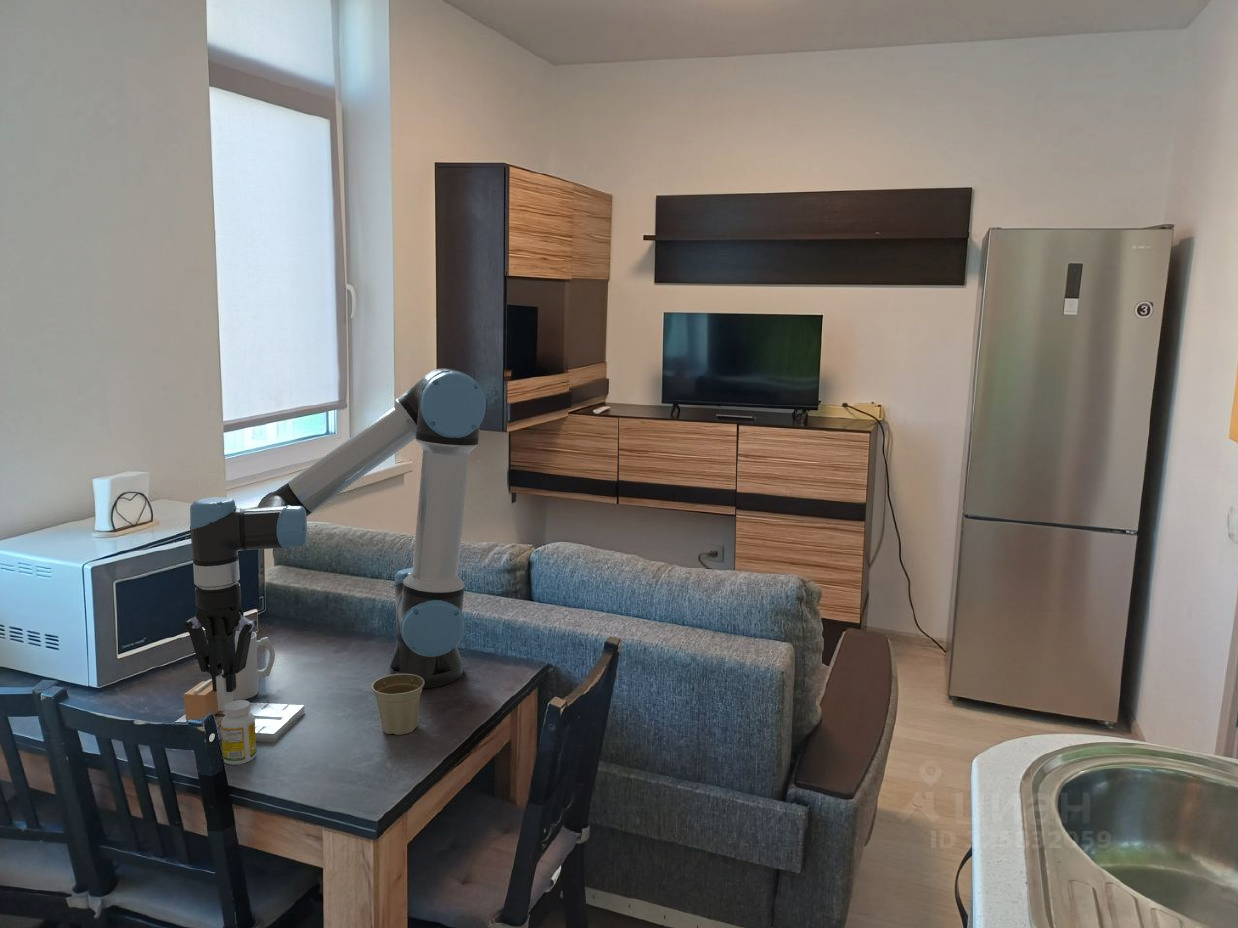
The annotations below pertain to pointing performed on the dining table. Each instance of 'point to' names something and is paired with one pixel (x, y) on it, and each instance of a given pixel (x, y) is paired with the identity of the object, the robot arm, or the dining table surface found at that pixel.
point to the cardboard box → (200, 701)
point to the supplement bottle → (238, 733)
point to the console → (267, 719)
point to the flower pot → (398, 702)
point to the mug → (252, 668)
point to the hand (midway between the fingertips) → (225, 707)
